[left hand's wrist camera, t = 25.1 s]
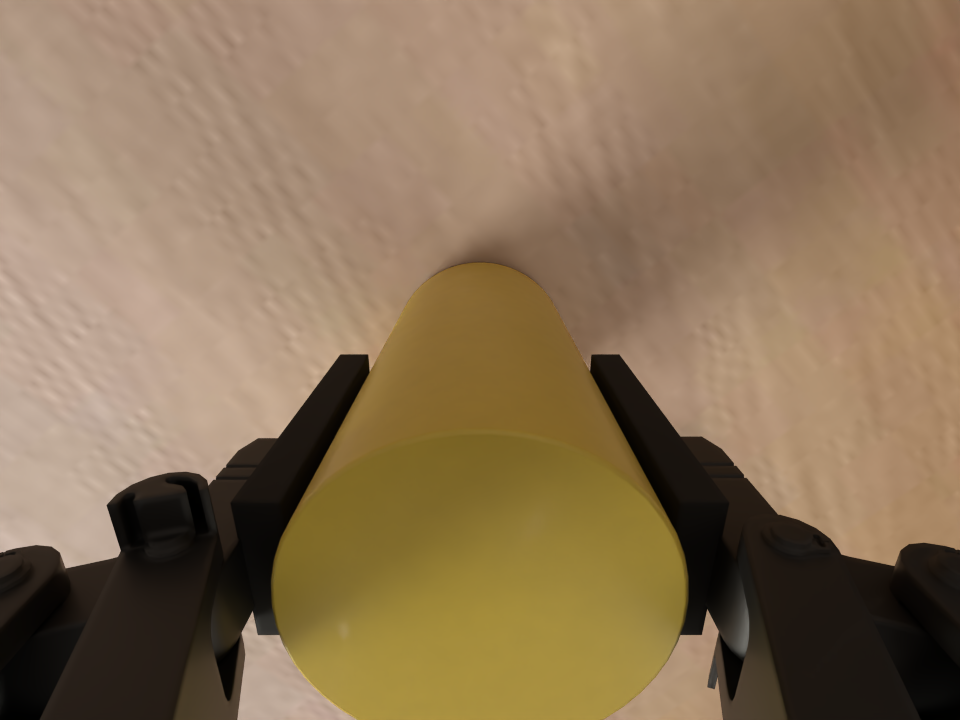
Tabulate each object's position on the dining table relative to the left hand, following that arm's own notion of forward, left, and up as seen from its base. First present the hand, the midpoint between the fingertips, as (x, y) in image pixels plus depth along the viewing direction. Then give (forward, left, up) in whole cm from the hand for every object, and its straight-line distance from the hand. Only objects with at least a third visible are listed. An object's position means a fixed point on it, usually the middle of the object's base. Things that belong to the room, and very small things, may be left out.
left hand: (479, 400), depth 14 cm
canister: (0, 0, -5) cm, 5 cm away
